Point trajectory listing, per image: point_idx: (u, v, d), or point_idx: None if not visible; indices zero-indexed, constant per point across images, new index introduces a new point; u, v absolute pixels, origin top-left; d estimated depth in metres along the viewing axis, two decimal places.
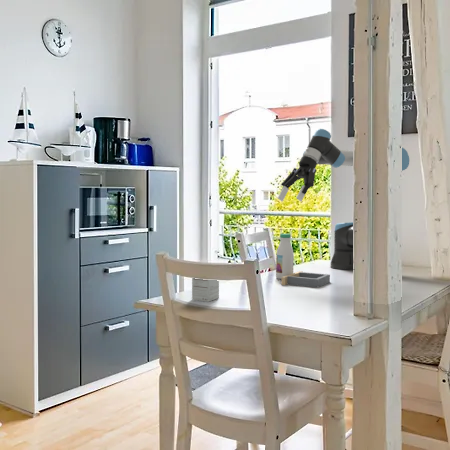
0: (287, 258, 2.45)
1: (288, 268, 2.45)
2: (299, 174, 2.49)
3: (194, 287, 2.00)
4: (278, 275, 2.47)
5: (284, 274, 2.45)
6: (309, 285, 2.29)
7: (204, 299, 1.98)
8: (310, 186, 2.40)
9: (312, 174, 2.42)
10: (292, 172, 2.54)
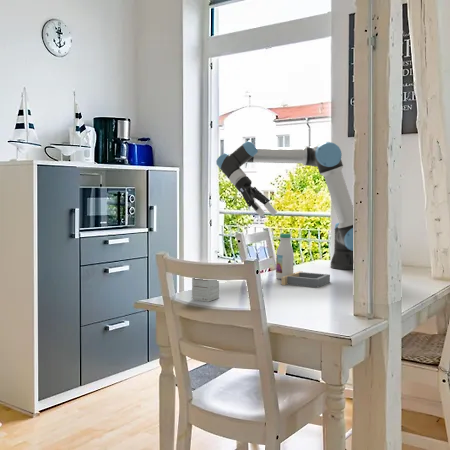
0: (287, 258, 2.45)
1: (288, 268, 2.45)
2: None
3: (194, 287, 2.00)
4: (278, 275, 2.47)
5: (284, 274, 2.45)
6: (309, 285, 2.29)
7: (204, 299, 1.98)
8: (251, 202, 2.49)
9: (243, 194, 2.53)
10: None
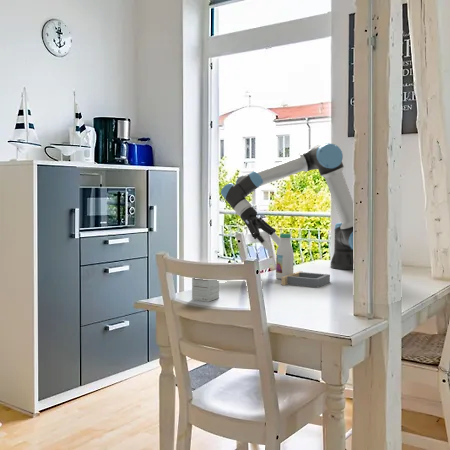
0: (287, 258, 2.45)
1: (288, 268, 2.45)
2: None
3: (194, 287, 2.00)
4: (278, 275, 2.47)
5: (284, 274, 2.45)
6: (309, 285, 2.29)
7: (204, 299, 1.98)
8: (256, 235, 2.44)
9: (248, 226, 2.47)
10: None
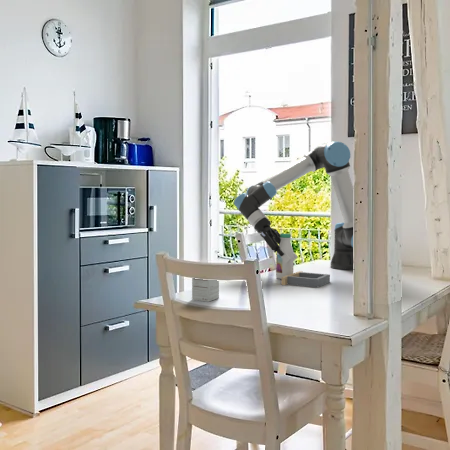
0: None
1: (288, 268, 2.45)
2: None
3: (194, 287, 2.00)
4: (278, 275, 2.47)
5: (284, 274, 2.45)
6: (309, 285, 2.29)
7: (204, 299, 1.98)
8: (276, 248, 2.43)
9: (266, 239, 2.45)
10: None
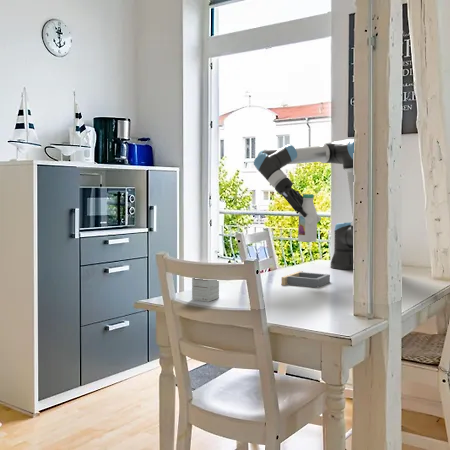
0: None
1: (311, 229, 2.33)
2: None
3: (194, 287, 2.00)
4: (301, 237, 2.34)
5: (307, 236, 2.33)
6: (309, 285, 2.29)
7: (204, 299, 1.98)
8: (299, 208, 2.30)
9: (288, 199, 2.33)
10: None
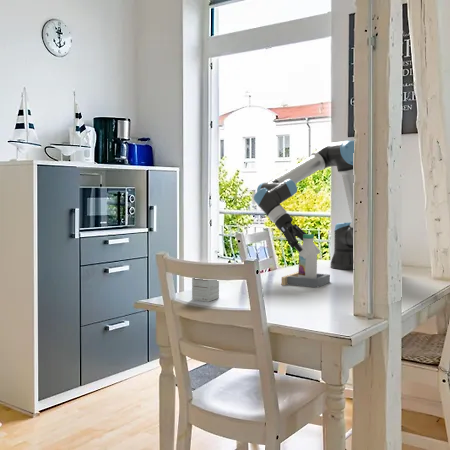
0: (310, 260, 2.34)
1: (311, 270, 2.34)
2: None
3: (194, 287, 2.00)
4: None
5: (307, 276, 2.34)
6: (309, 285, 2.29)
7: (204, 299, 1.98)
8: (294, 243, 2.30)
9: (285, 234, 2.33)
10: None
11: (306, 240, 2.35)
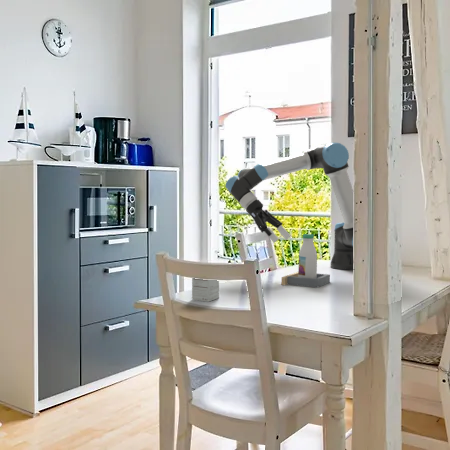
0: (310, 260, 2.34)
1: (311, 270, 2.34)
2: None
3: (194, 287, 2.00)
4: None
5: (307, 276, 2.34)
6: (309, 285, 2.29)
7: (204, 299, 1.98)
8: (264, 228, 2.39)
9: (255, 219, 2.42)
10: None
11: (306, 240, 2.35)
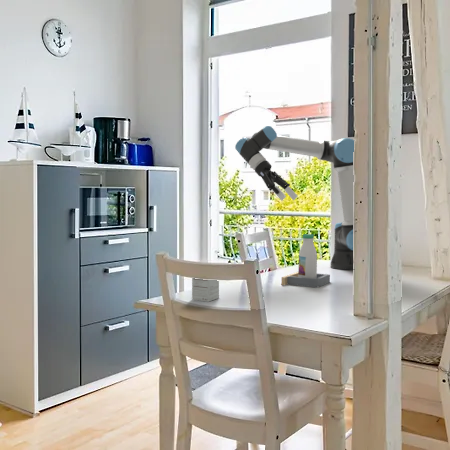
0: (310, 260, 2.34)
1: (311, 270, 2.34)
2: None
3: (194, 287, 2.00)
4: None
5: (307, 276, 2.34)
6: (309, 285, 2.29)
7: (204, 299, 1.98)
8: (272, 186, 2.46)
9: (264, 178, 2.50)
10: None
11: (306, 240, 2.35)
